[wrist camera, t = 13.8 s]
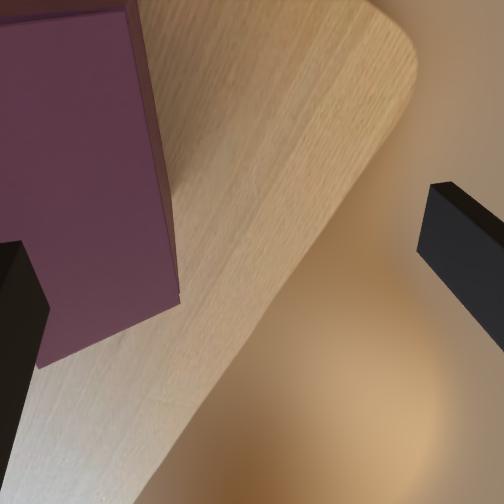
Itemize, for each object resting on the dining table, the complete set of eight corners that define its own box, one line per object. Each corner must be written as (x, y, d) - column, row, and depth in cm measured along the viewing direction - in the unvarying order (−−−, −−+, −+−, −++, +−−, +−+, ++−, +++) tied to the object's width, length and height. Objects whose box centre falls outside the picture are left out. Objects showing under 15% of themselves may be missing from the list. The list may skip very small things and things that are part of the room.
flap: (120, 9, 15) (125, 10, 14) (177, 299, 22) (181, 303, 22) (-126, 41, 12) (-127, 42, 11) (36, 364, 19) (38, 370, 19)
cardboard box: (133, -17, 23) (124, 9, 14) (171, 198, 31) (180, 304, 22) (-155, 3, 22) (-375, 47, 13) (-40, 226, 29) (-125, 354, 20)
